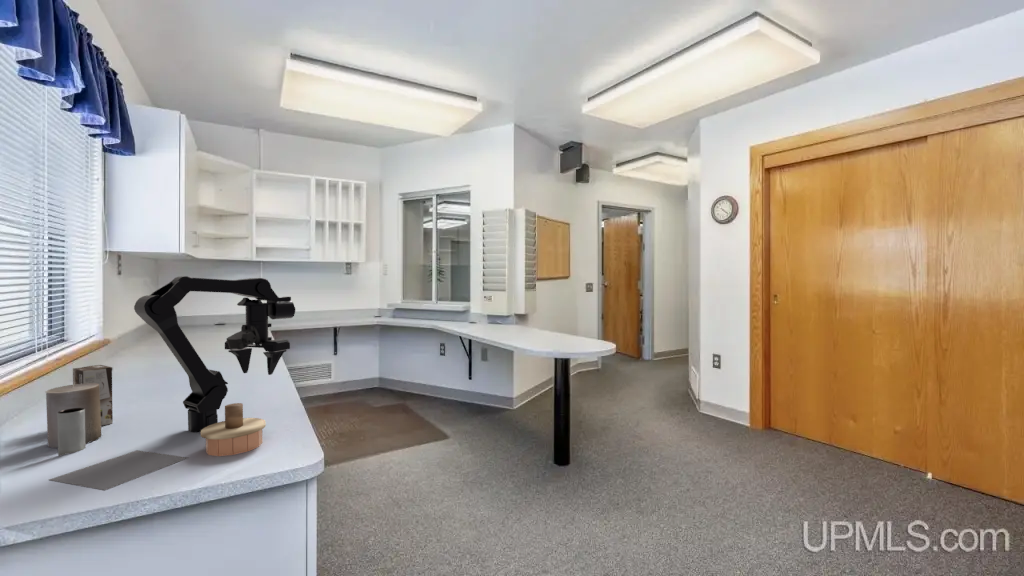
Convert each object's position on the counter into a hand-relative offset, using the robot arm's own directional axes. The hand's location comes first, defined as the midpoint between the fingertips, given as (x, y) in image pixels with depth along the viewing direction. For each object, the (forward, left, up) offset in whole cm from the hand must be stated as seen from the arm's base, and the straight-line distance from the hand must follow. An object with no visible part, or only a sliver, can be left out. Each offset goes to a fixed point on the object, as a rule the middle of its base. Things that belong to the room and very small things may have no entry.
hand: (257, 373), depth 130 cm
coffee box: (-41, -17, -13) cm, 46 cm away
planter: (-19, -34, -13) cm, 41 cm away
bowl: (+16, -22, -13) cm, 30 cm away
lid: (+16, -22, -8) cm, 28 cm away
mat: (+4, -38, -13) cm, 40 cm away
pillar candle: (-29, -28, -13) cm, 42 cm away
